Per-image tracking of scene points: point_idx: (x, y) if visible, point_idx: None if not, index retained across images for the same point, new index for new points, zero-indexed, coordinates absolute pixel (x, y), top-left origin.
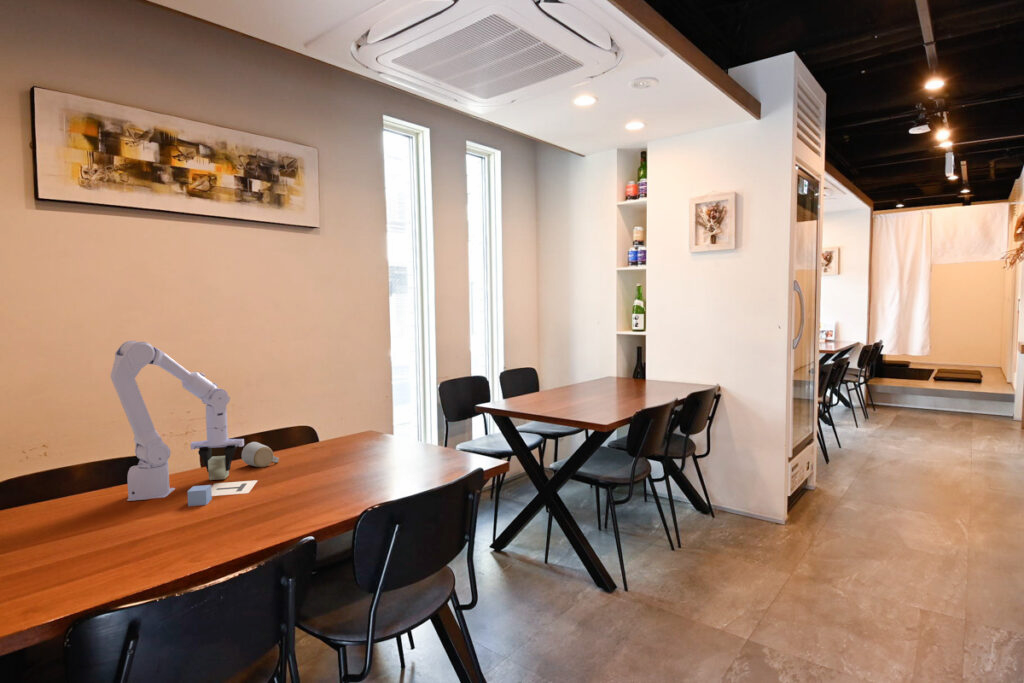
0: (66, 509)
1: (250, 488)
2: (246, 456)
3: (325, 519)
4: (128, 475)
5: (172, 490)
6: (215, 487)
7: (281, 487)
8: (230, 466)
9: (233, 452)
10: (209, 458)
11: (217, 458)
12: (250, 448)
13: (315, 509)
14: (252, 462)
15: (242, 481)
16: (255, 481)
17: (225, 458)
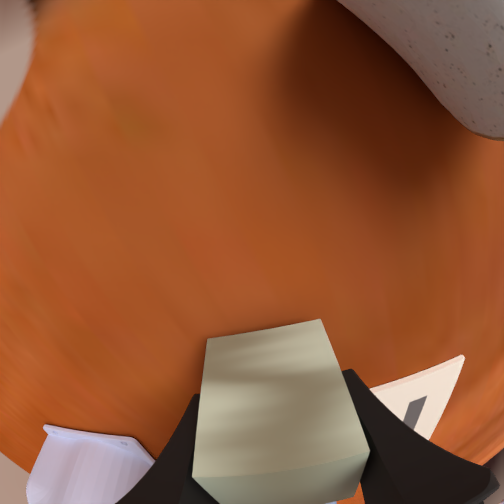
0: (27, 457)
1: (433, 426)
2: (413, 29)
3: (492, 454)
4: None
5: (148, 457)
6: None
7: (500, 384)
8: (360, 379)
9: (436, 468)
10: (205, 497)
11: (286, 498)
12: (500, 3)
13: (497, 441)
14: (454, 115)
15: (410, 381)
16: (455, 372)
17: (357, 483)
